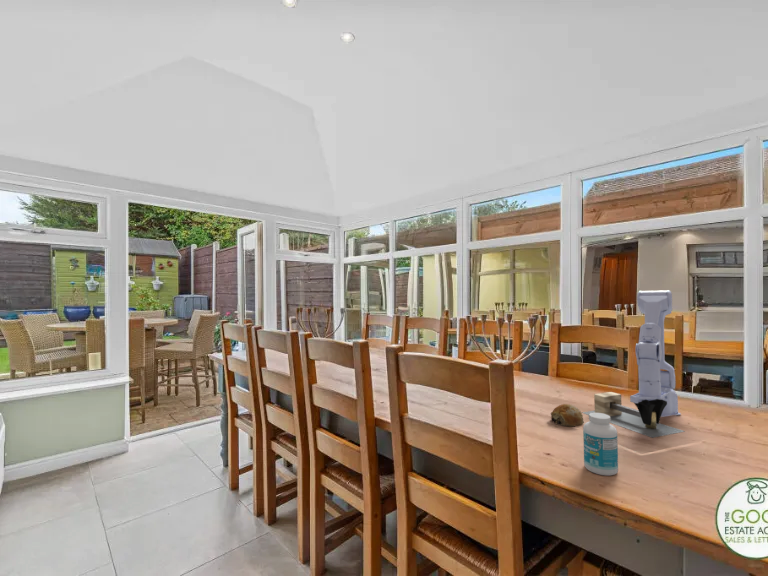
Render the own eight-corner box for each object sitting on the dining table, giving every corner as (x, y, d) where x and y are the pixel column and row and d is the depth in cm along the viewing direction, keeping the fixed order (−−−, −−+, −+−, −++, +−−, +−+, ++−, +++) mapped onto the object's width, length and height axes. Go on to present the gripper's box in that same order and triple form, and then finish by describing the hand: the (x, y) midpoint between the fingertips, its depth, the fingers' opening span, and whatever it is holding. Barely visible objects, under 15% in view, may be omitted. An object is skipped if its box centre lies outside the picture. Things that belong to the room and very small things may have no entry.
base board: (610, 409, 142) (610, 407, 142) (685, 433, 117) (685, 431, 117) (581, 414, 137) (581, 412, 137) (652, 439, 113) (652, 437, 113)
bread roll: (582, 439, 124) (593, 417, 123) (551, 424, 125) (562, 402, 125) (573, 428, 133) (583, 408, 133) (545, 415, 135) (554, 394, 135)
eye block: (611, 411, 138) (611, 391, 138) (621, 414, 134) (621, 394, 134) (594, 413, 135) (594, 394, 136) (604, 417, 132) (603, 396, 132)
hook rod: (612, 412, 135) (611, 398, 135) (658, 427, 119) (658, 411, 119) (605, 413, 134) (605, 399, 134) (651, 429, 118) (651, 413, 119)
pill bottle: (577, 464, 98) (576, 411, 98) (605, 462, 99) (603, 410, 99) (596, 478, 91) (594, 420, 91) (625, 476, 91) (624, 419, 91)
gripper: (644, 385, 114) (646, 430, 114) (678, 380, 119) (680, 424, 119) (623, 380, 121) (624, 423, 121) (656, 376, 126) (657, 417, 125)
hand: (650, 423), depth 120 cm, fingers closed on hook rod, 3 cm apart
